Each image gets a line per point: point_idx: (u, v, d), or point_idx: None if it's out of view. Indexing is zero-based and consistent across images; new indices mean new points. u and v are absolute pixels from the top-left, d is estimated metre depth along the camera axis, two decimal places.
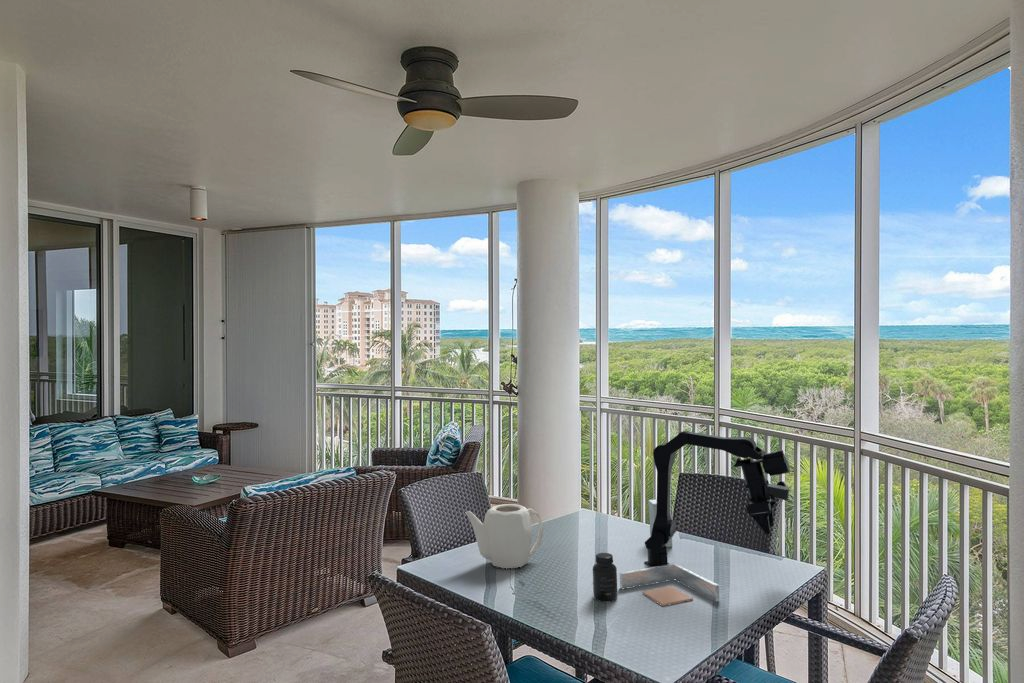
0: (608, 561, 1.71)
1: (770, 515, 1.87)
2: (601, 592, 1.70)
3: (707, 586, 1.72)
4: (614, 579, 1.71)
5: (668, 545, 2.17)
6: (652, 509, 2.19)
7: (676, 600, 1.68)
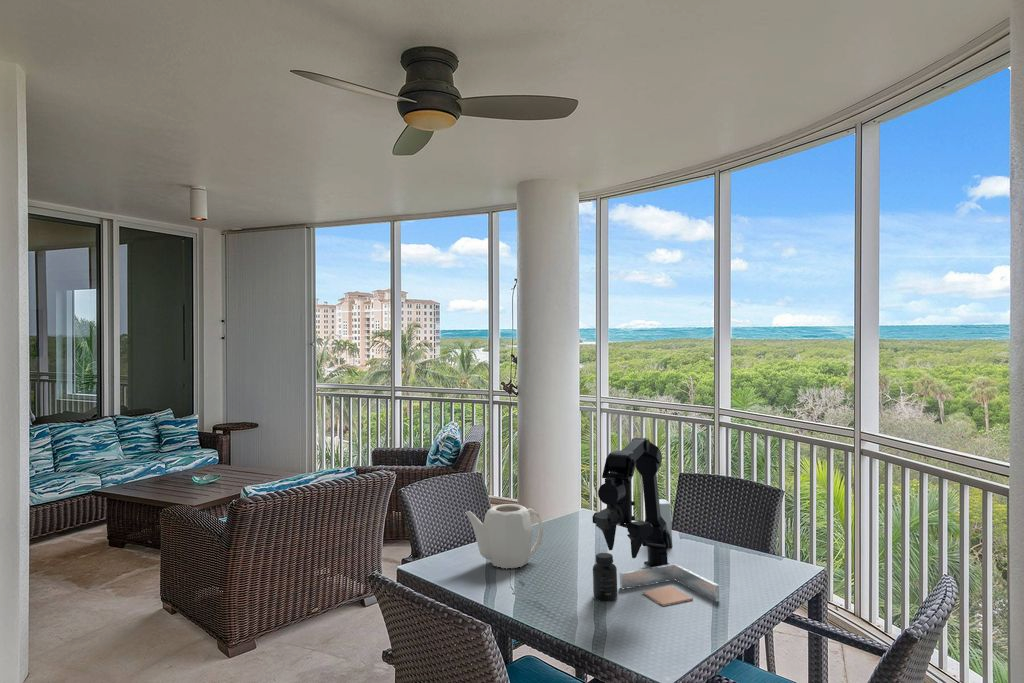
0: (608, 561, 1.71)
1: None
2: (601, 592, 1.70)
3: (707, 586, 1.72)
4: (614, 579, 1.71)
5: None
6: None
7: (676, 600, 1.68)
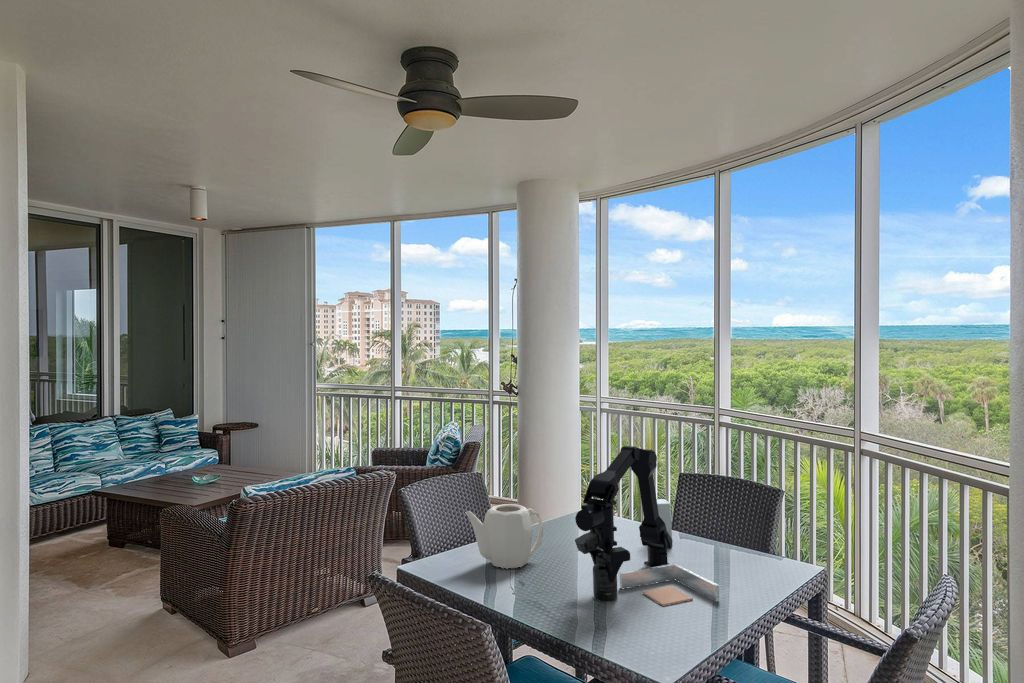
0: None
1: None
2: (601, 592, 1.70)
3: (707, 586, 1.72)
4: None
5: None
6: None
7: (676, 600, 1.68)
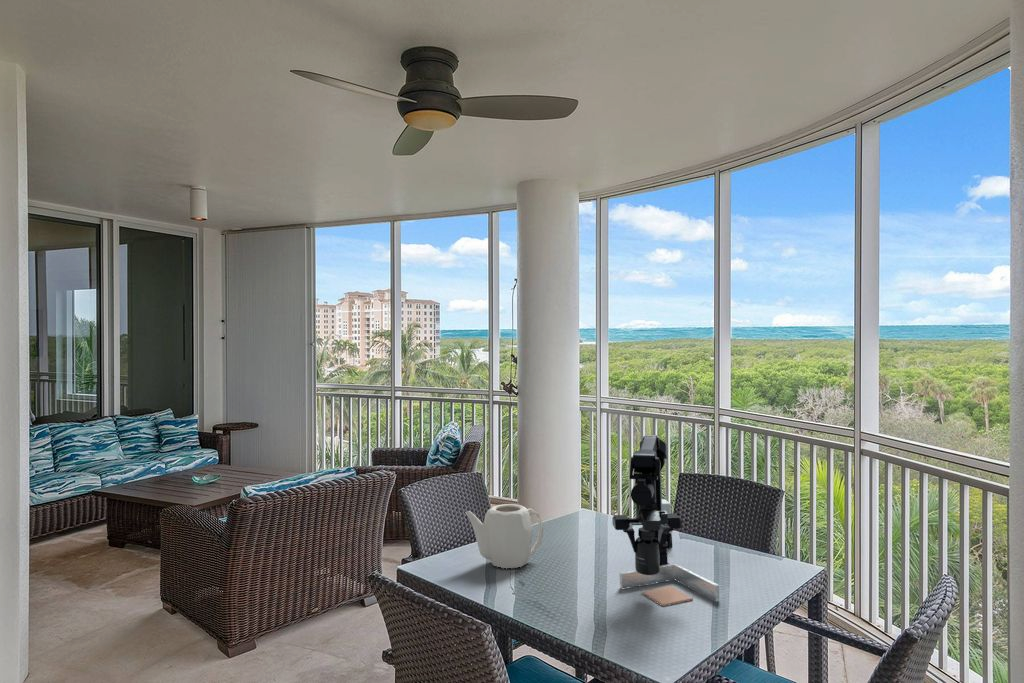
0: None
1: (660, 540, 1.73)
2: (657, 565, 1.71)
3: (707, 586, 1.72)
4: None
5: None
6: None
7: (676, 600, 1.68)
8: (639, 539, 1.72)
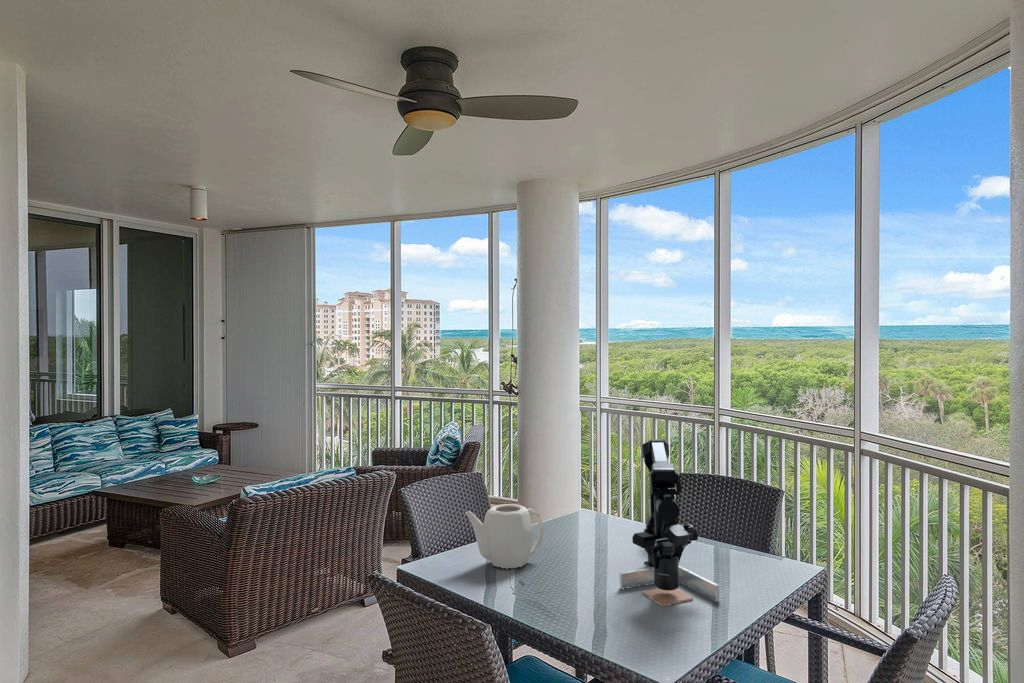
0: None
1: (677, 554, 1.74)
2: (678, 578, 1.71)
3: (707, 586, 1.72)
4: None
5: None
6: None
7: (676, 600, 1.68)
8: (660, 555, 1.71)
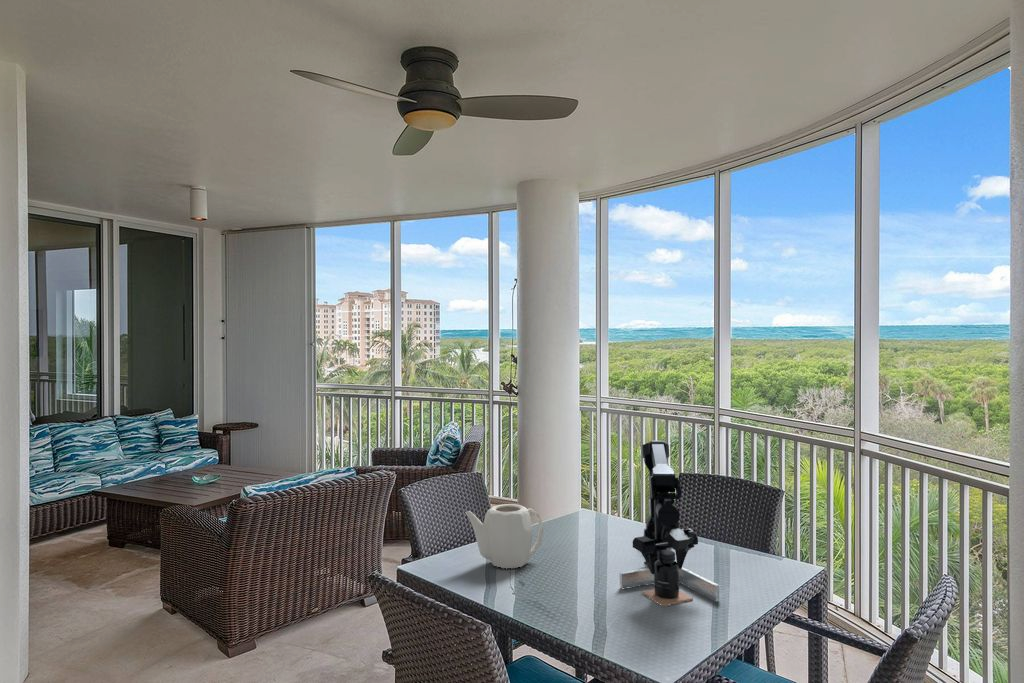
0: None
1: (680, 558, 1.74)
2: (678, 587, 1.71)
3: (707, 586, 1.72)
4: None
5: None
6: None
7: (676, 600, 1.68)
8: (661, 563, 1.71)
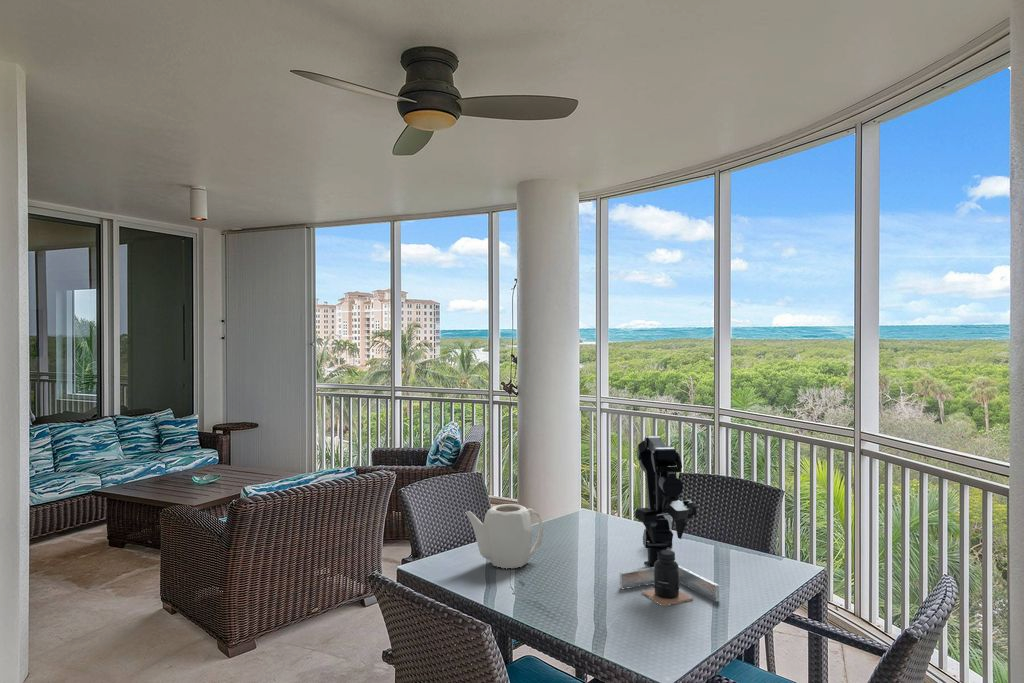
0: None
1: (680, 528, 1.85)
2: (678, 587, 1.71)
3: (707, 586, 1.72)
4: None
5: None
6: None
7: (676, 600, 1.68)
8: (661, 563, 1.71)
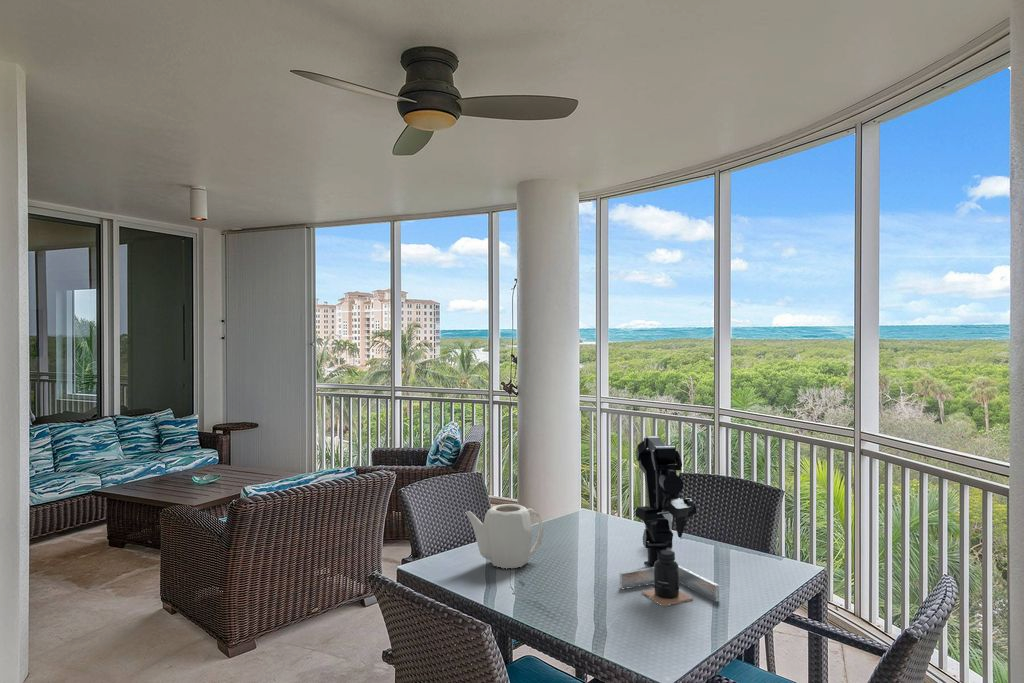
0: None
1: (680, 526, 1.85)
2: (678, 586, 1.71)
3: (707, 586, 1.72)
4: None
5: None
6: None
7: (676, 600, 1.68)
8: (661, 563, 1.71)
